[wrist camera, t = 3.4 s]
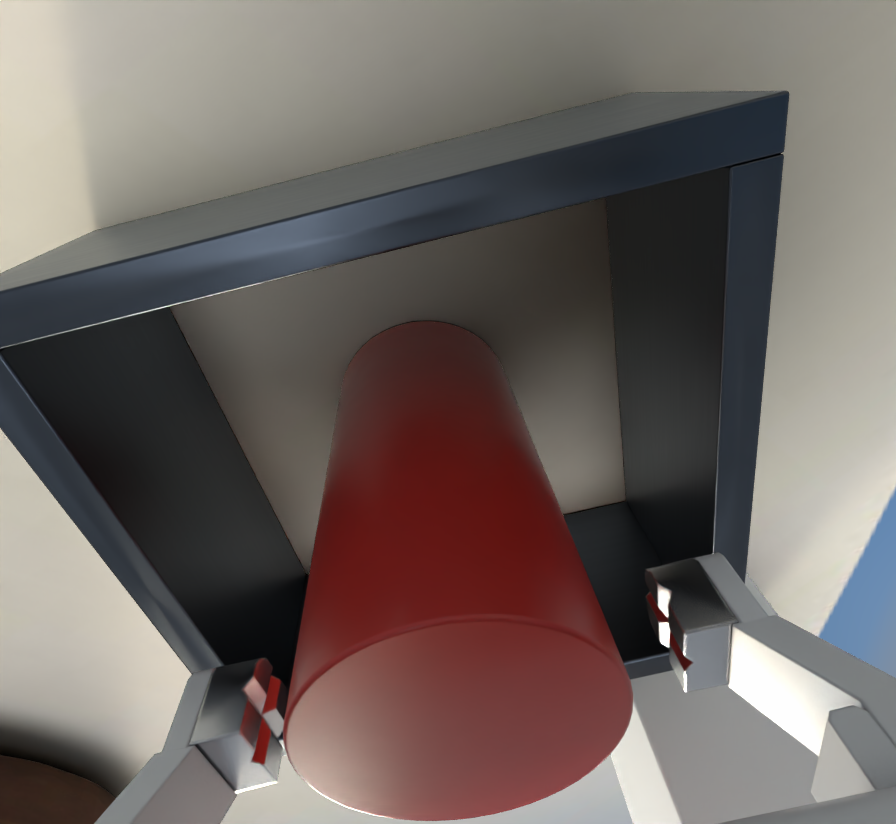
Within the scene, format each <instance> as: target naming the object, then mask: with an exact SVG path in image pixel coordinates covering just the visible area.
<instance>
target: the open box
mask: <svg viewBox="0 0 896 824" xmlns="http://www.w3.org/2000/svg"><path fill="white" fill-rule="evenodd" d="M788 103H789V92H788V91H721V92H632V93H628V94H624V95H621V96H617V97H613V98H609V99H605V100H601V101H597V102H593V103H589V104H586V105H582V106H578V107H574V108H570V109H566V110H562V111H558V112H554V113H550V114H547V115H543V116H539V117H535V118H531V119H527V120H523V121H519V122H515V123H512V124H508V125H504V126H500V127H496V128H492V129H488V130H484V131H480V132H476V133H473V134H469V135H465V136H461V137H457V138H453V139H449V140H445V141H441V142H438V143H434V144H430V145H426V146H422V147H418V148H414V149H410V150H406V151H403V152H399V153H395V154H391V155H387V156H383V157H379V158H375V159H371V160H367V161H364V162H360V163H356V164H352V165H348V166H344V167H340V168H336V169H332V170H329V171H325V172H321V173H317V174H313V175H309V176H305V177H301V178H297V179H294V180H290V181H286V182H282V183H278V184H274V185H270V186H266V187H262V188H258V189H255V190H251V191H247V192H243V193H239V194H235V195H231V196H227V197H223V198H220V199H216V200H212V201H208V202H204V203H200V204H196V205H192V206H188V207H185V208H181V209H177V210H173V211H169V212H165V213H161V214H157V215H153V216H149V217H146V218H142V219H138V220H134V221H130V222H126V223H122V224H118V225H114V226H111V227H107V228H103V229H99V230H95V231H92V232H90V233H88V234H86V235H84V236H81V237H79V238H77V239H75V240H73V241H70V242H68V243H66V244H64V245H62V246H59V247H57V248H55V249H53V250H51V251H48V252H46V253H44V254H42V255H40V256H38V257H35V258H33V259H31V260H29V261H27V262H24V263H22V264H20V265H18V266H16V267H13V268H11V269H9V270H7V271H5V272H2V273H0V428H1V429H2V431H3V432H4V433H5V435H6V436H7V437H8V438H9V440H10V441H11V442H12V444H13V445H14V446H15V447H16V449H17V450H18V451H19V453H20V454H21V455H22V456H23V458H24V459H25V460H26V462H27V463H28V464H29V465H30V467H31V468H32V469H33V471H34V472H35V473H36V474H37V476H38V477H39V478H40V480H41V481H42V482H43V483H44V485H45V486H46V487H47V489H48V490H49V491H50V492H51V494H52V495H53V496H54V498H55V499H56V500H57V501H58V503H59V504H60V505H61V507H62V508H63V509H64V510H65V512H66V513H67V514H68V516H69V517H70V518H71V519H72V521H73V522H74V523H75V525H76V526H77V527H78V528H79V530H80V531H81V532H82V534H83V535H84V536H85V537H86V539H87V540H88V541H89V543H90V544H91V545H92V546H93V548H94V549H95V550H96V552H97V553H98V554H99V555H100V557H101V558H102V559H103V561H104V562H105V563H106V564H107V566H108V567H109V568H110V570H111V571H112V572H113V573H114V575H115V576H116V577H117V579H118V580H119V581H120V582H121V584H122V585H123V586H124V588H125V589H126V590H127V591H128V593H129V594H130V595H131V597H132V598H133V599H134V600H135V602H136V603H137V604H138V606H139V607H140V608H141V609H142V611H143V612H144V613H145V615H146V616H147V617H148V618H149V620H150V621H151V622H152V624H153V625H154V626H155V627H156V629H157V630H158V631H159V633H160V634H161V635H162V636H163V638H164V639H165V640H166V642H167V643H168V644H169V645H170V647H171V648H172V649H173V651H174V652H175V653H176V654H177V656H178V657H179V658H180V660H181V661H182V662H183V663H184V665H185V666H186V667H187V669H188V670H189V671H190V672H191V674H193V673H194V672H197V671H202V670H207V669H211V668H216V667H220V666H225V665H230V664H235V663H240V662H245V661H250V660H255V659H260V658H267V660H268V661H269V662H270V664H271V665H272V667H273V668H272V673H271V675H272V676H274V677H276V678H278V679H281V681H282V682H283V684H284V686H285V688H286V691H287V695H289V689H290V684H291V678H292V672H293V666H294V660H295V655H296V649H297V643H298V637H299V631H300V625H301V620H302V614H303V608H304V602H305V596H306V590H307V585H308V579H309V575H306V574H305V572H304V570H303V568H302V566H301V564H300V562H299V560H298V558H297V556H296V554H295V552H294V550H293V549H292V547H291V545H290V543H289V541H288V539H287V537H286V535H285V533H284V531H283V529H282V527H281V525H280V523H279V521H278V519H277V517H276V516H275V514H274V512H273V510H272V508H271V506H270V504H269V502H268V500H267V498H266V496H265V494H264V492H263V490H262V488H261V486H260V484H259V482H258V481H257V479H256V477H255V475H254V473H253V471H252V469H251V467H250V465H249V463H248V461H247V459H246V457H245V455H244V453H243V451H242V449H241V447H240V446H239V444H238V442H237V440H236V438H235V436H234V434H233V432H232V430H231V428H230V426H229V424H228V422H227V420H226V418H225V416H224V414H223V413H222V411H221V409H220V407H219V405H218V403H217V401H216V399H215V397H214V395H213V393H212V391H211V389H210V387H209V385H208V383H207V381H206V379H205V378H204V376H203V374H202V372H201V370H200V368H199V366H198V364H197V362H196V360H195V358H194V356H193V354H192V352H191V350H190V348H189V346H188V344H187V343H186V341H185V339H184V337H183V335H182V333H181V331H180V329H179V327H178V325H177V323H176V321H175V319H174V317H173V315H172V313H171V311H170V310H169V308H168V307H170V306H174V305H178V304H182V303H186V302H190V301H194V300H198V299H202V298H206V297H210V296H214V295H218V294H222V293H226V292H230V291H234V290H238V289H242V288H246V287H250V286H254V285H258V284H262V283H266V282H270V281H274V280H278V279H282V278H286V277H290V276H294V275H298V274H302V273H306V272H310V271H314V270H318V269H322V268H326V267H330V266H334V265H338V264H342V263H346V262H350V261H354V260H358V259H362V258H365V257H369V256H373V255H377V254H381V253H385V252H389V251H393V250H397V249H401V248H405V247H409V246H413V245H417V244H421V243H425V242H429V241H433V240H437V239H441V238H445V237H449V236H453V235H457V234H461V233H465V232H469V231H473V230H477V229H481V228H485V227H489V226H493V225H497V224H501V223H505V222H509V221H513V220H517V219H521V218H525V217H529V216H533V215H537V214H541V213H545V212H549V211H553V210H557V209H561V208H565V207H569V206H573V205H577V204H581V203H585V202H589V201H593V200H597V199H601V198H605V197H606V208H607V223H608V238H609V252H610V267H611V282H612V297H613V312H614V327H615V342H616V357H617V372H618V387H619V401H620V416H621V431H622V446H623V461H624V476H625V491H626V501H625V502H621V503H617V504H612V505H608V506H604V507H599V508H595V509H591V510H586V511H582V512H578V513H573V514H569V515H565V516H564V519H565V521H566V524H567V526H568V529H569V531H570V534H571V536H572V538H573V541H574V543H575V546H576V548H577V551H578V553H579V556H580V558H581V560H582V563H583V565H584V568H585V570H586V573H587V575H588V578H589V580H590V583H591V585H592V587H593V590H594V592H595V595H596V597H597V600H598V602H599V605H600V607H601V609H602V612H603V614H604V617H605V619H606V622H607V624H608V627H609V629H610V632H611V634H612V636H613V639H614V641H615V644H616V646H617V649H618V651H619V654H620V656H621V658H622V661H623V663H624V666H625V668H626V671H627V673H628V676H629V678H630V680H631V679H636V678H640V677H645V676H650V675H654V674H659V673H663V672H668V671H672V670H673V668H672V666H671V664H670V658H669V648H668V647H666V646H665V645H663V644H662V643H660V641H659V639H658V637H657V635H656V633H655V631H654V628H653V626H652V623H651V621H650V617H649V613H648V609H647V602H646V596H647V594H648V593H649V592H650V590H649V588H648V587H647V585H646V583H645V571H646V569H649V568H653V567H657V566H661V565H665V564H669V563H673V562H677V561H681V560H686V559H690V558H696V557H701V556H705V555H709V554H714V553H718V552H719V553H720V554H722V555H723V556H724V557H725V558H726V560H727V561H728V562H729V564H730V565H731V566H732V568H733V569H734V570H735V572H736V573H737V574H738V576H739V577H740V578H741V580H742V581H743V582H744V584H745V578H746V567H747V556H748V545H749V534H750V523H751V512H752V501H753V490H754V479H755V468H756V457H757V446H758V435H759V424H760V413H761V402H762V391H763V380H764V369H765V358H766V347H767V336H768V325H769V313H770V302H771V291H772V280H773V269H774V258H775V247H776V236H777V225H778V214H779V203H780V192H781V181H782V170H783V159H784V156H783V154H780V153H782V152H784V147H785V136H786V125H787V114H788ZM278 740H279V742H280V744H281V745H282V747H283V751H282V756H284V755H287V753H286V749H285V746H284V740H283V732H282V733H281V735H280V736H279V737H278Z"/></svg>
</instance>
